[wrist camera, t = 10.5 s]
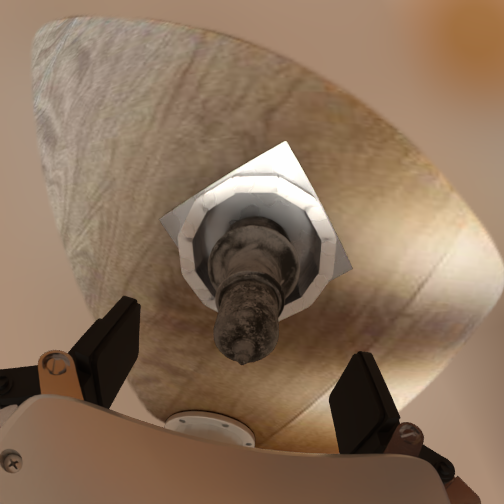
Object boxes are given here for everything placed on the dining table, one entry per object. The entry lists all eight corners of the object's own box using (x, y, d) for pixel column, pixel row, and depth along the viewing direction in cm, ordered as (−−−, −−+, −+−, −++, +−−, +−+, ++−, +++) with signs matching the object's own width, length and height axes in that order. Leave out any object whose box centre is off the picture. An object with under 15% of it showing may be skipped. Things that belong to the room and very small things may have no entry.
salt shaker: (201, 252, 22) (142, 359, 10) (252, 195, 20) (230, 263, 9) (258, 298, 23) (249, 423, 12) (311, 248, 21) (351, 358, 10)
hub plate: (349, 262, 23) (362, 283, 19) (236, 318, 25) (231, 344, 22) (284, 141, 19) (288, 140, 16) (163, 215, 22) (146, 228, 18)
